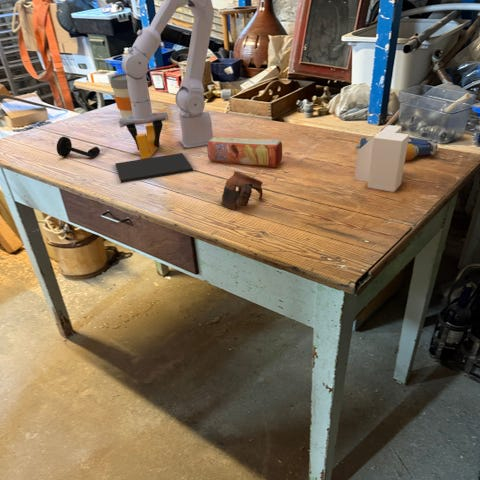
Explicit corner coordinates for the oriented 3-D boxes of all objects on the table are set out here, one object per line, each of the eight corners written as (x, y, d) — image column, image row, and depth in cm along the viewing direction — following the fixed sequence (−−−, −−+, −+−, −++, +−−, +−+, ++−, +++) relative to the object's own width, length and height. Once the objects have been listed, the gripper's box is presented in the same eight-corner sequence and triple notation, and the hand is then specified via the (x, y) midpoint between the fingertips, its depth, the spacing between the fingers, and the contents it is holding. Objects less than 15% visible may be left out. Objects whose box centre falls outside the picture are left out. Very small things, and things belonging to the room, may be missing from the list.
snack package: (206, 163, 136) (204, 139, 132) (216, 155, 141) (214, 132, 136) (276, 170, 129) (276, 145, 124) (284, 162, 133) (284, 137, 129)
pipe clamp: (147, 146, 151) (142, 125, 147) (160, 144, 150) (155, 123, 146) (136, 159, 142) (130, 137, 138) (149, 157, 141) (144, 135, 137)
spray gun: (418, 168, 124) (441, 153, 132) (420, 152, 121) (444, 137, 130) (348, 155, 135) (374, 142, 144) (349, 140, 133) (375, 128, 142)
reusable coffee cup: (149, 125, 170) (142, 79, 161) (115, 126, 170) (105, 81, 161) (154, 115, 180) (148, 71, 171) (122, 117, 180) (113, 73, 171)
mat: (182, 155, 142) (182, 152, 142) (193, 170, 132) (192, 168, 131) (115, 165, 138) (115, 163, 138) (121, 182, 127) (120, 179, 127)
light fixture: (110, 155, 153) (87, 168, 143) (82, 146, 154) (57, 158, 145) (110, 136, 149) (86, 149, 139) (80, 128, 151) (55, 139, 141)
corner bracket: (394, 192, 113) (402, 141, 106) (349, 184, 119) (354, 135, 111) (407, 176, 120) (415, 128, 113) (364, 169, 125) (370, 123, 118)
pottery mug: (215, 200, 116) (227, 167, 114) (250, 213, 119) (262, 181, 117) (223, 207, 105) (236, 171, 103) (261, 221, 108) (275, 186, 106)
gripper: (162, 94, 141) (169, 140, 150) (113, 100, 138) (123, 147, 147) (166, 99, 136) (173, 147, 144) (116, 106, 133) (126, 154, 141)
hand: (148, 147), depth 145 cm, fingers closed on pipe clamp, 5 cm apart
